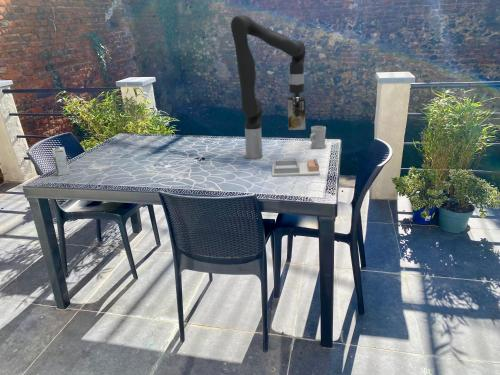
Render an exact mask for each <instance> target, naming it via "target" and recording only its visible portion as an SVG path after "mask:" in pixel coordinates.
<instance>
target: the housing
mask: <svg viewBox="0 0 500 375" xmlns="http://www.w3.org/2000/svg"><path fill="white" fill-rule="evenodd" d="M271 165H272V166H271V168H272V169H271V170H272V172H271V173H272V177H274V178H275V177H304V176H305V177H306V176H320V175H321V173H320V170H319V171H309V170H308V166H307V162H303V163H302V162H300V163H299V160H298V159H291V160H290V159H284V160H274V161H273V164H271Z"/></svg>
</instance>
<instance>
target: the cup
mask: <svg viewBox="0 0 500 375" xmlns="http://www.w3.org/2000/svg"><path fill="white" fill-rule="evenodd" d="M310 130H311V134H309V140H310V142H311V144H310V147H311V148H312V149H314V150H322V149H326V132H327V127H326V126H325V125H324V126H323V125H314V126H310Z"/></svg>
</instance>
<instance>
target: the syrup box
mask: <svg viewBox="0 0 500 375" xmlns="http://www.w3.org/2000/svg"><path fill="white" fill-rule="evenodd" d="M51 152H52V157H53V162H54V165H55V170H56V173H57V176H58V177H59V176H65V175H70V168H69V164H68V159H67V155H66V150H65V146H59V147H53V148H52V150H51Z"/></svg>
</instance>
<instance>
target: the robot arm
mask: <svg viewBox="0 0 500 375" xmlns="http://www.w3.org/2000/svg"><path fill="white" fill-rule="evenodd" d="M230 29H231V34H232V37H233V43H234V47H235V48H234V49H235V55H236V56H235V57H236V62H237V63H236V64H237V72H238V73H237V74H238V79H239V80H238V81H239V85H240V91H241V110H242V114H244V115H245V121H244V137H245V139H244V140H245V158H246V159H251V160H256V159H257V160H258V159H261V158H262V157H263V140H262V138H263V137H262V120H263V109H262V108H263V107H262V106H263V105H262V102H261V101H260V99H258V98H256V94H255V92H256V91H255V87H256V77H257V76H256V74H257V71H256V63H255V62H256V61H255V58H254V55H253V54H252V52H251V49H250V46H249V42H248V36H252V37H256V38H258V39H260V40H261V41H263V42H264V43H265V44H267V45H268V46H271V47H272V48H276V49H277V50H280V51H282V52H283V53H285V54H287V55H289V56H290V57H291V62H290V63H289V78H288V79H289V80H288V82H289V84H288V87H289V90H288V91H289V93H291V94H293V95H292V97H293V99H295V102H294V105H295V117H299V109H300V99H301V97H302V96H301V95H300V93H302V94H303V93H304V92H305V75H304V72H305V71H304V67H305V66H304V64H305V56H306V45H305V44H304V42H303V41H301V40H297V41H295V40H292V39H290V38H288V37H287V36H286V35H285V34H282V33H280V32H277V31H275V30H272V29H270V28H268V27H266V26H264V25H262V24H260V23H259V22H257V21H255V20H254V19H252V18H251V17H249V16H248V15H236V16H234V17H233V18H232V19H231V22H230ZM296 105H299V106H298V107H296Z"/></svg>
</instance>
